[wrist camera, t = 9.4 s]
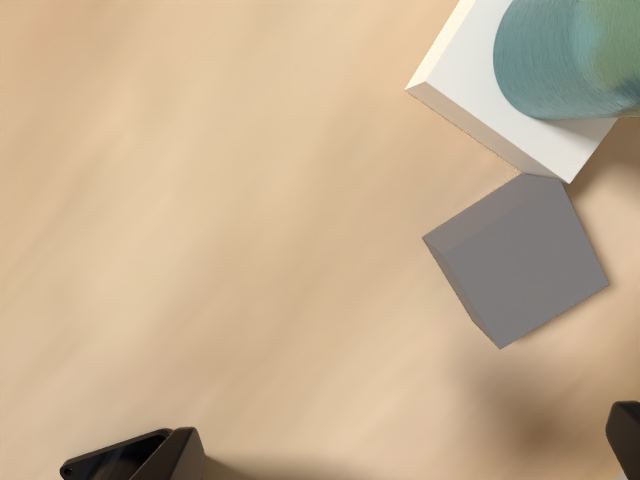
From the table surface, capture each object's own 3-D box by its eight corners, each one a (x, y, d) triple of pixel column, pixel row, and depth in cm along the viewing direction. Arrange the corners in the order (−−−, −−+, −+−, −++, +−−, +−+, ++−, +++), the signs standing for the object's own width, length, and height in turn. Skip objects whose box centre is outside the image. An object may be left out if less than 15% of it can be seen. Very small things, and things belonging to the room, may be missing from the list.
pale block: (529, 177, 20) (569, 183, 17) (404, 89, 18) (425, 81, 16) (633, 32, 18) (697, 13, 16) (506, -75, 17) (550, -119, 14)
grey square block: (472, 321, 22) (500, 349, 19) (421, 237, 20) (443, 254, 17) (566, 264, 21) (609, 284, 18) (521, 173, 20) (560, 180, 17)
